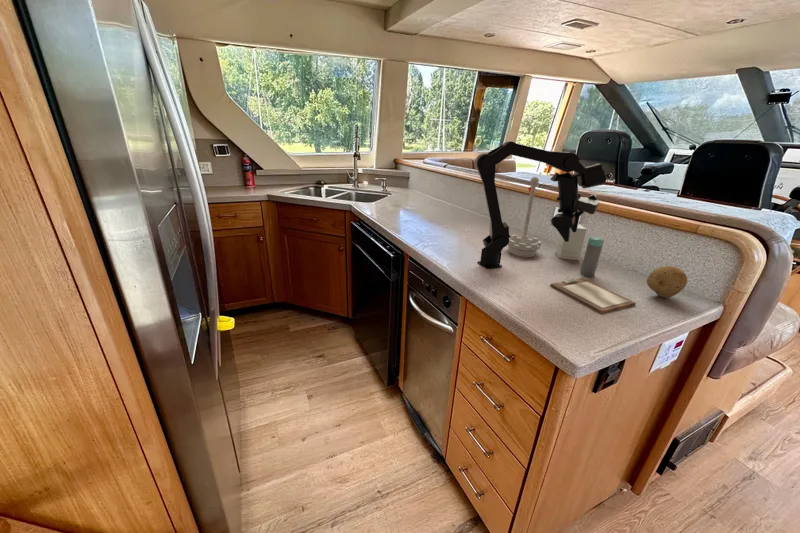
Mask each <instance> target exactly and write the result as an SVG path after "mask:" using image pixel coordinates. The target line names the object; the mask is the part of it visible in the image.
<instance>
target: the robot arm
mask: <svg viewBox="0 0 800 533" xmlns="http://www.w3.org/2000/svg"><path fill="white" fill-rule="evenodd" d="M510 156H515V157H519V158H524V159H528V160H531V161H535V162H541V163H544V164H546V165H547V166H550V167H552V168H554V169H557V170H559V171H562V172H564V173H559V172H555V173H554V175H552V176H551V177H550V179H549V180H550V181H553V182H554V183H555V182H557V188H558V189H557V190H558V196H557V197H556V201H557V202H558V203H559V208H557V213H556V214H555V215H554V216H553V217H552V218H551V219H550V222H551V226H553V227H554V228H555V229H556V230H557V231H558V233H559V234H560V235H561V236H562V238H563V239H564V241H565V242H569V237H570V228H571V229H572V231H573V232H576V231H577V227H578V224H579V223H580V222H579V221H580V217H581V215H583V214H584V213H588V214H590V215H595V213H596V212H597V209H598V207H599V204H600V200H599V199H598V196H597V195H596V194H593V193H592V194H591V195H590V196H588V197H587V196H583V197H582V193H581V192H580V191H579V187H581V188H582V189H590V188H595V187H598V186H599V187H600V186H604V184H605V183H606V180H607V179H606V178H607V175H606V173H605V170H604V168H603V164H602V163H595V164H593V165H589V166H584V165H583V164H582V163H581V162H580V158H579V156H578V155H577V154H576V153H574V152H569V151H561V150H560V151H558V150H555V151H554V150H552V151H551V150H545V149H541V148H536V147H533V146H529V145H524V144H520V143H517V142H515V141H511V140H509V141H508V140H506V141H505V142H504V143H503V144H501V145H500V146H497V147H496V148H494V149H492V150H490V151H489V152H483V153H480V154H478V155H477V157H476V158H475V160H474V165H475V168H476V170H477V173H478V175H479V178H480V179H481V180H480V181H481V183H482V187H483V192H484V197H485V201H486V207H487V214H488V217H489V235H487V236H485V237H484V238H483V239H482V243H483V246H484V247H483V248H481V254H480V260H478V261H477V262H476V263H477V264H478V265H480V266H482V267H483V268H485V269H487V270H491V269H497V268H502V267H503V265H502V264H501V260H502V252H503V249H504V248H505V247H507V246H508V245H507V244H508V243H509V238H511V235H510V226H509V225H508V223H507V222H505V221H504V222H503V220H502V214H501V209H500V203H499V197H498V192H497V187H496V182H495V181H496V165H498V164H499V163H502V162H503V161H504V160H505V159H506V158H508V157H510ZM571 172H574V173H572V174H571Z"/></svg>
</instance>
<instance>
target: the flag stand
mask: <svg viewBox="0 0 800 533" xmlns="http://www.w3.org/2000/svg"><path fill="white" fill-rule="evenodd" d="M529 181H530V184H531V185H530V186H529V187H528V192H529V198H528V203H527V210H526V215H525V221H524V226H523V232H522V234H521V237H519V236H518V235H517V234H512V235H510V236H511V238H509V243H508V244H507V246H508V247H507V252H509V254H511V253H512V254H511V255H514V256H518V257H523V258H524V257H534V256H536V254H537V252H538V250H539V249H540V248H541V245H542V240H540V239H539V238H538V237H532V238H529V235H528V231H529V230H528V229H529V226H530V225H529V223H530V220H531V214H532V208H533V203H534V198H535V193H536V192H535V191H536V187H537V184H538V183H539V181H540V180H539V177H537V176H533V177H532V178H530V180H529Z"/></svg>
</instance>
